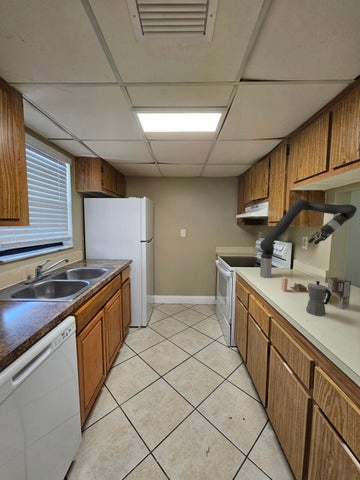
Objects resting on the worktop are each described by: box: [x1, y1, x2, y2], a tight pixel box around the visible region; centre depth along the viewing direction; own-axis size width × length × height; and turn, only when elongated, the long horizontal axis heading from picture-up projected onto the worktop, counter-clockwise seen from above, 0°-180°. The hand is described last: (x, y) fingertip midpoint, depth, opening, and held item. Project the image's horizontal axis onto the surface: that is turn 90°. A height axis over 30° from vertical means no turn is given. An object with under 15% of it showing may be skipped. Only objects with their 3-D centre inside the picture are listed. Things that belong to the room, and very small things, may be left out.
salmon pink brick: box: [280, 276, 289, 293], centre depth 146 cm, size 5×2×10 cm, turn 173°
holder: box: [289, 282, 308, 294], centre depth 148 cm, size 12×10×5 cm
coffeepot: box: [305, 280, 331, 317], centre depth 112 cm, size 15×9×18 cm, turn 6°
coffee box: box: [327, 277, 352, 310], centre depth 123 cm, size 9×6×16 cm
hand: (312, 243), depth 150 cm, fingers open, 8 cm apart
